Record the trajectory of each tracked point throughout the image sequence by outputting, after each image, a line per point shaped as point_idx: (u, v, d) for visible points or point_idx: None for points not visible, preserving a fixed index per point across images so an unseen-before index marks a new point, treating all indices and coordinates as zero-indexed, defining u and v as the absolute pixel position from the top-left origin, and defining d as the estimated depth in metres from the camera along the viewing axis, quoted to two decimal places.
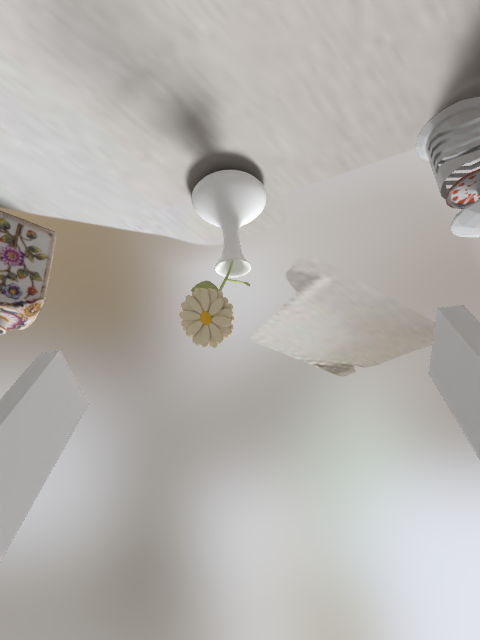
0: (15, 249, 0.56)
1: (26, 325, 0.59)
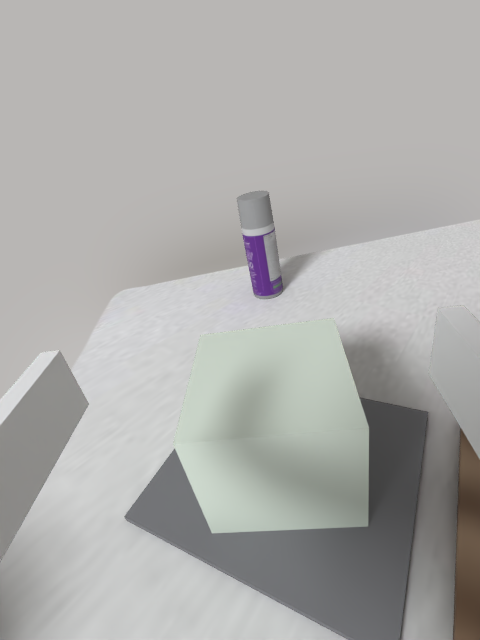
0: None
1: None
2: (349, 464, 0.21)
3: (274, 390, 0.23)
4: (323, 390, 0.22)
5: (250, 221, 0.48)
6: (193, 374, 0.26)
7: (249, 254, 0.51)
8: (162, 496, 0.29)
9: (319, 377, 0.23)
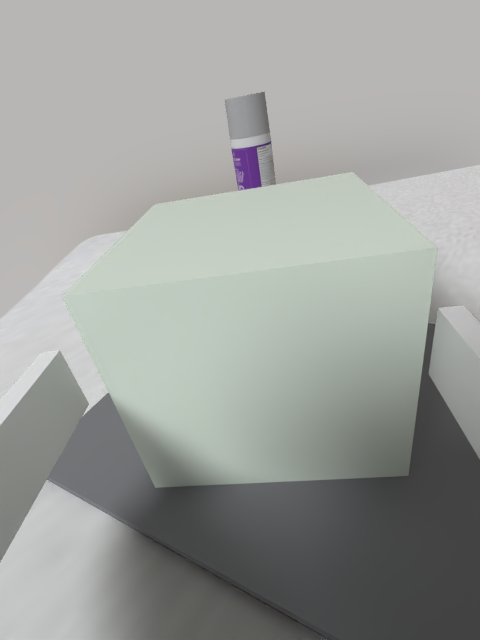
0: None
1: None
2: (389, 343, 0.11)
3: (256, 231, 0.13)
4: (341, 222, 0.12)
5: (241, 127, 0.39)
6: (130, 232, 0.16)
7: (240, 175, 0.42)
8: (91, 438, 0.19)
9: (333, 213, 0.13)
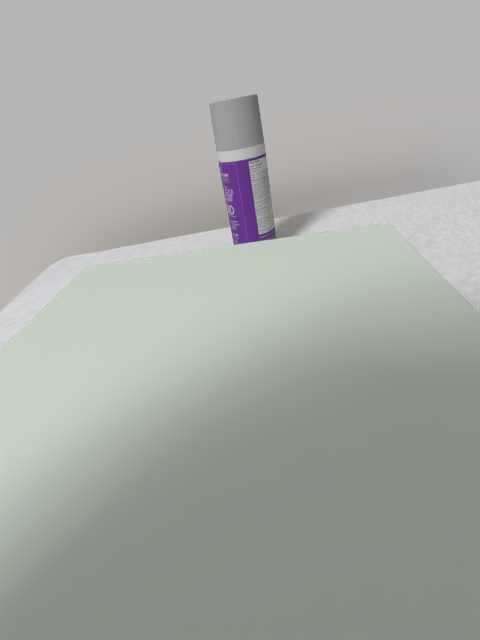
0: None
1: None
2: None
3: (224, 390, 0.06)
4: (409, 391, 0.06)
5: (229, 137, 0.32)
6: (13, 343, 0.09)
7: (228, 193, 0.35)
8: None
9: (382, 347, 0.07)
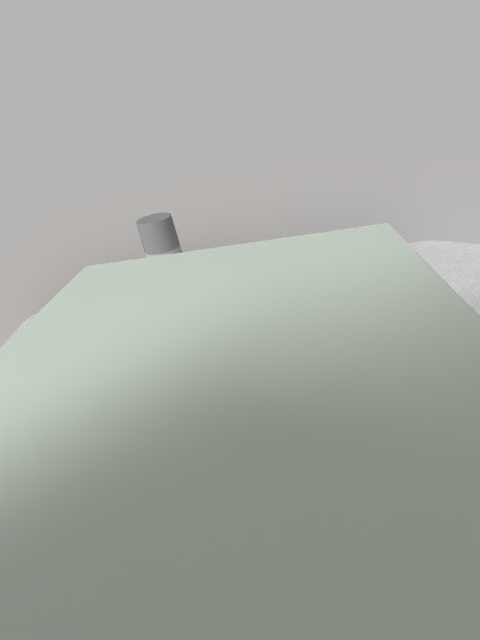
0: None
1: None
2: None
3: (222, 390, 0.06)
4: (406, 391, 0.06)
5: (150, 246, 0.44)
6: (11, 344, 0.09)
7: None
8: None
9: (380, 347, 0.07)
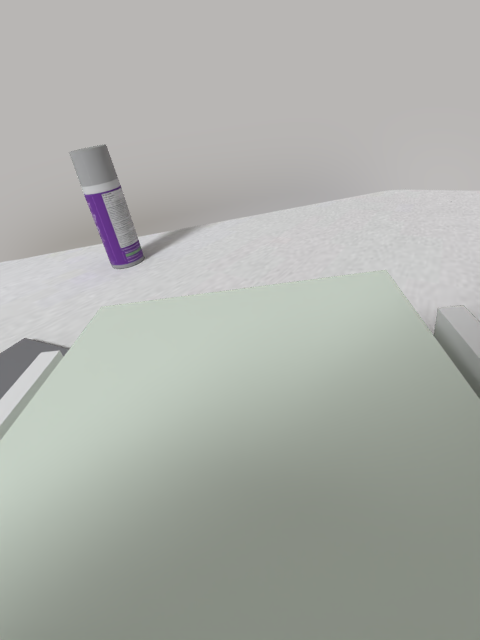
0: None
1: None
2: None
3: (240, 456, 0.07)
4: (403, 463, 0.06)
5: (84, 176, 0.43)
6: (41, 395, 0.10)
7: (93, 217, 0.46)
8: None
9: (380, 415, 0.07)
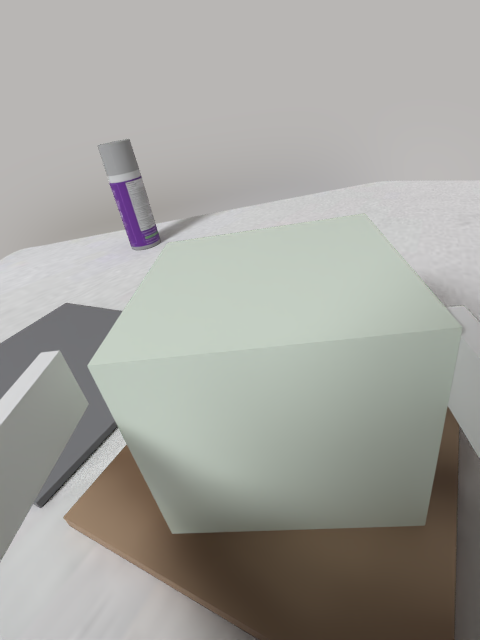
0: None
1: None
2: (411, 409, 0.11)
3: (275, 289, 0.13)
4: (361, 284, 0.13)
5: (110, 167, 0.49)
6: (146, 281, 0.16)
7: (117, 203, 0.52)
8: None
9: (352, 270, 0.14)
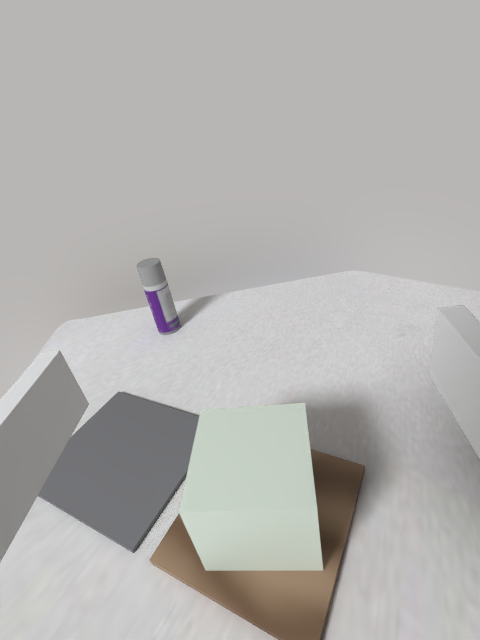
0: None
1: None
2: (305, 529, 0.29)
3: (254, 469, 0.31)
4: (289, 472, 0.30)
5: (145, 281, 0.67)
6: (194, 449, 0.34)
7: (149, 303, 0.70)
8: None
9: (287, 460, 0.31)
